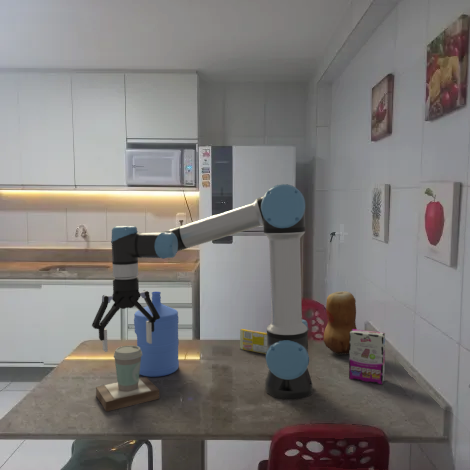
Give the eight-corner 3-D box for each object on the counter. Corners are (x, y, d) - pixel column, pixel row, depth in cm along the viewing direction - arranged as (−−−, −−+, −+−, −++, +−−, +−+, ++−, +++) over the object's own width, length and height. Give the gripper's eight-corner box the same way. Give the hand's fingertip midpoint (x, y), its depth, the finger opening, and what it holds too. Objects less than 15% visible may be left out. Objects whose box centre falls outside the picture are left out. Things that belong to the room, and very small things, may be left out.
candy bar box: (384, 379, 146) (385, 332, 145) (382, 385, 142) (384, 336, 141) (351, 373, 151) (352, 328, 150) (348, 379, 147) (349, 331, 146)
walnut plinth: (159, 398, 131) (159, 389, 131) (106, 411, 123) (106, 401, 123) (145, 384, 142) (145, 375, 141) (96, 395, 133) (96, 386, 133)
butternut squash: (317, 349, 177) (318, 289, 175) (347, 346, 180) (348, 287, 179) (334, 361, 163) (335, 296, 162) (365, 358, 167) (366, 294, 165)
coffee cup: (135, 394, 127) (135, 354, 126) (108, 392, 129) (108, 352, 128) (146, 383, 136) (146, 345, 135) (121, 381, 137) (121, 344, 136)
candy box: (277, 354, 171) (277, 334, 170) (275, 356, 169) (275, 335, 169) (242, 347, 179) (242, 328, 179) (239, 349, 177) (239, 329, 177)
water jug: (187, 367, 157) (187, 291, 155) (157, 381, 144) (156, 299, 142) (156, 358, 166) (155, 286, 164) (125, 371, 153) (124, 293, 151)
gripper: (160, 272, 139) (161, 336, 141) (80, 279, 127) (82, 350, 128) (169, 275, 133) (170, 342, 134) (85, 283, 120) (88, 357, 122)
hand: (127, 346), depth 131 cm, fingers open, 13 cm apart
